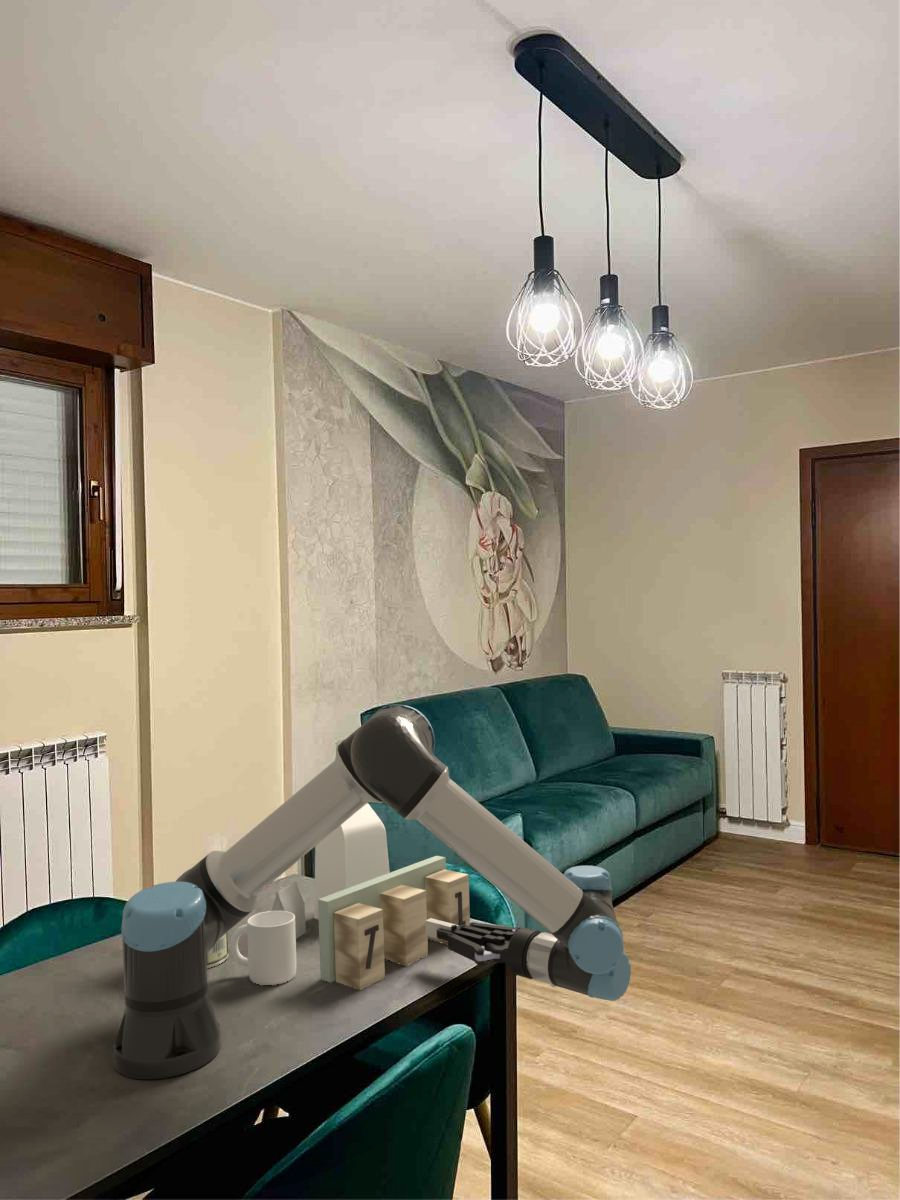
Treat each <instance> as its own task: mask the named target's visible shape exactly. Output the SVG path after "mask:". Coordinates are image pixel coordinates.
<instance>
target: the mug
mask: <svg viewBox="0 0 900 1200" xmlns="http://www.w3.org/2000/svg"><path fill="white" fill-rule="evenodd" d="M243 934H247V954H248V955H247V956H248V957H246V956H243V955H242V954H241V952H240V950H239V939H240V937H241V936H242V935H243ZM296 940H297V939H296V933H295V915H294V914H293V913H290V912H287V911H271V910H268V911H263V912H258V913H256V914H254V915H252V916H250V917H249V918H248V919H247V920H246V924H243V925H239V927H237V928H236V929H235V930H234V931H233V933H232V935H231V938H230V942H229V943H230V944H229V945H230V946H229V947H230V952H231V955H232V957H233V959H234V960H235V961H236V962H237V963H238V964H239V965H241V966H244V967H246V968H248V976H249V980H250V981H251V982H252V983H253V984H255V983H256V984H255V985H257V984H259V985H258V986H263V985H272V986H278V985H277V984H279V985H282V984H284V983H287V981H288V982H289V981H291V980H292V979H293V978H294V977H295V976H296V974H297V947H296V946H297V941H296Z"/></svg>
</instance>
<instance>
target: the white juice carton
mask: <svg viewBox="0 0 900 1200" xmlns="http://www.w3.org/2000/svg"><path fill="white" fill-rule="evenodd" d="M297 883H298V882H297V881H294V882H292V883H291V884H289V885H287V886H285V887H283V888H281V889H280V890H278V891H276V895H275V898H274V901H273V902H274V903H273V904H272V907H271V909H270V911H287V912H290V913H293V914H294V915H295V933H296V940H297V939H299V938H300V937H301V936H303V935H304V934H306V910H305V908H306V905H305V901H304V899H303V896H302V894H301V893H300V890H299V887H298V884H297Z"/></svg>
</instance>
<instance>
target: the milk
mask: <svg viewBox="0 0 900 1200" xmlns="http://www.w3.org/2000/svg"><path fill="white" fill-rule="evenodd" d="M314 848H315V849H314V850H315V852H314V853H315V854H314V855H315V856H314V907H313V912H314V915H313V918H314V919H315V920H318V921H319V912H318V899H320V898H323V897H325V896H328V895H331V894H334V893H336V892H339V891H342V890H344V889H347V888H350V887H353V886H355V885H358V884H361V883H363V882H366V881H369V880H372V879H374V878H377V877H380V876H382V875H385V874H388V873H391V871H390V862H389V860H390V859H389V849H388V839H387V830H386V827H385V825H384V823H383V821H382V820H381V818H380V817H379V816H378V814H377V813H376V811H375V810H374V809H373V808H372V806H371V805H370V804H369V802H368V803H367V804H366V805H364V806H363V807H362V808H361V809H360V810H358V811H357V812H356V813H355V814H354V815H352V816H351V817H350V818H349V819H348V820H346V821H345V822H344V823H343V824H341V825H340V826H339V827H338V828H337V829H335V830H334V831H333V832H332V833H331V834H329V835H328V836H327V837H326V838H325V839H323V840H322V841H321V842H320V843H319V844H317V845H316V846H315V847H314Z"/></svg>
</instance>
